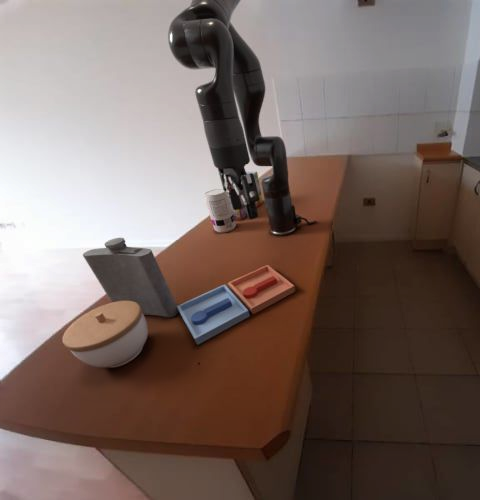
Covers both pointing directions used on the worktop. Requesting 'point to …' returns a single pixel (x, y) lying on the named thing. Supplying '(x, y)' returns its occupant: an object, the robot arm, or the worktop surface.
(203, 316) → the blue spoon
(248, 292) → the red spoon
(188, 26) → the robot arm
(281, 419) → the worktop surface
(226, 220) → the supplement can
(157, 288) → the hip flask
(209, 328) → the blue tray
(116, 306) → the lidded bowl
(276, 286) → the orange tray
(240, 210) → the snack box
